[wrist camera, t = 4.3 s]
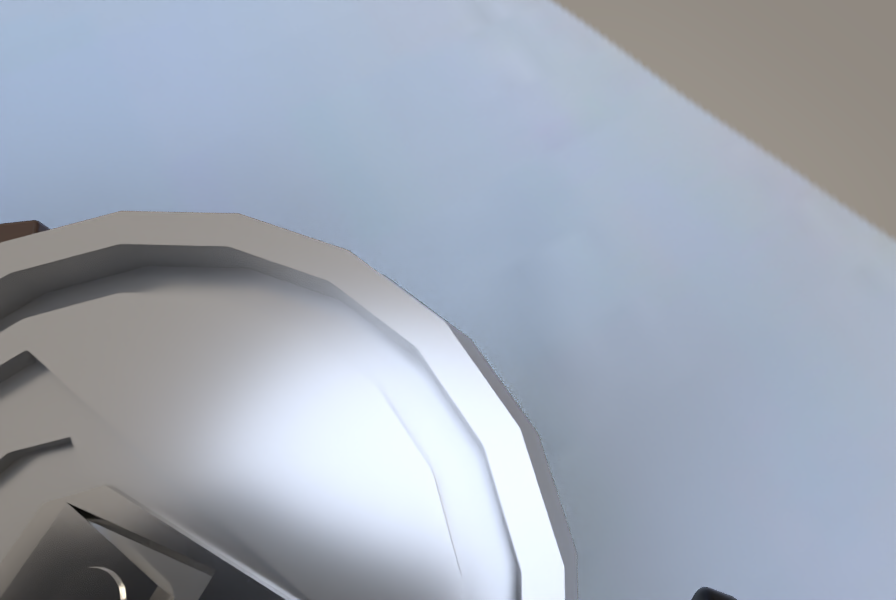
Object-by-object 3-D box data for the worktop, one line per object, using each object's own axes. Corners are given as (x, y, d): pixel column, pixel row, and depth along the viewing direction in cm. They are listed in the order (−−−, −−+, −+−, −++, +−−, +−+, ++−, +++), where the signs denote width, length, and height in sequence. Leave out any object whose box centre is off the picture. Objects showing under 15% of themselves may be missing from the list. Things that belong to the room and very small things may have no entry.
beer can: (541, 496, 15) (771, 426, 4) (424, 735, 14) (237, 1740, 2) (340, 383, 16) (41, 54, 5) (210, 597, 15) (-654, 857, 3)
